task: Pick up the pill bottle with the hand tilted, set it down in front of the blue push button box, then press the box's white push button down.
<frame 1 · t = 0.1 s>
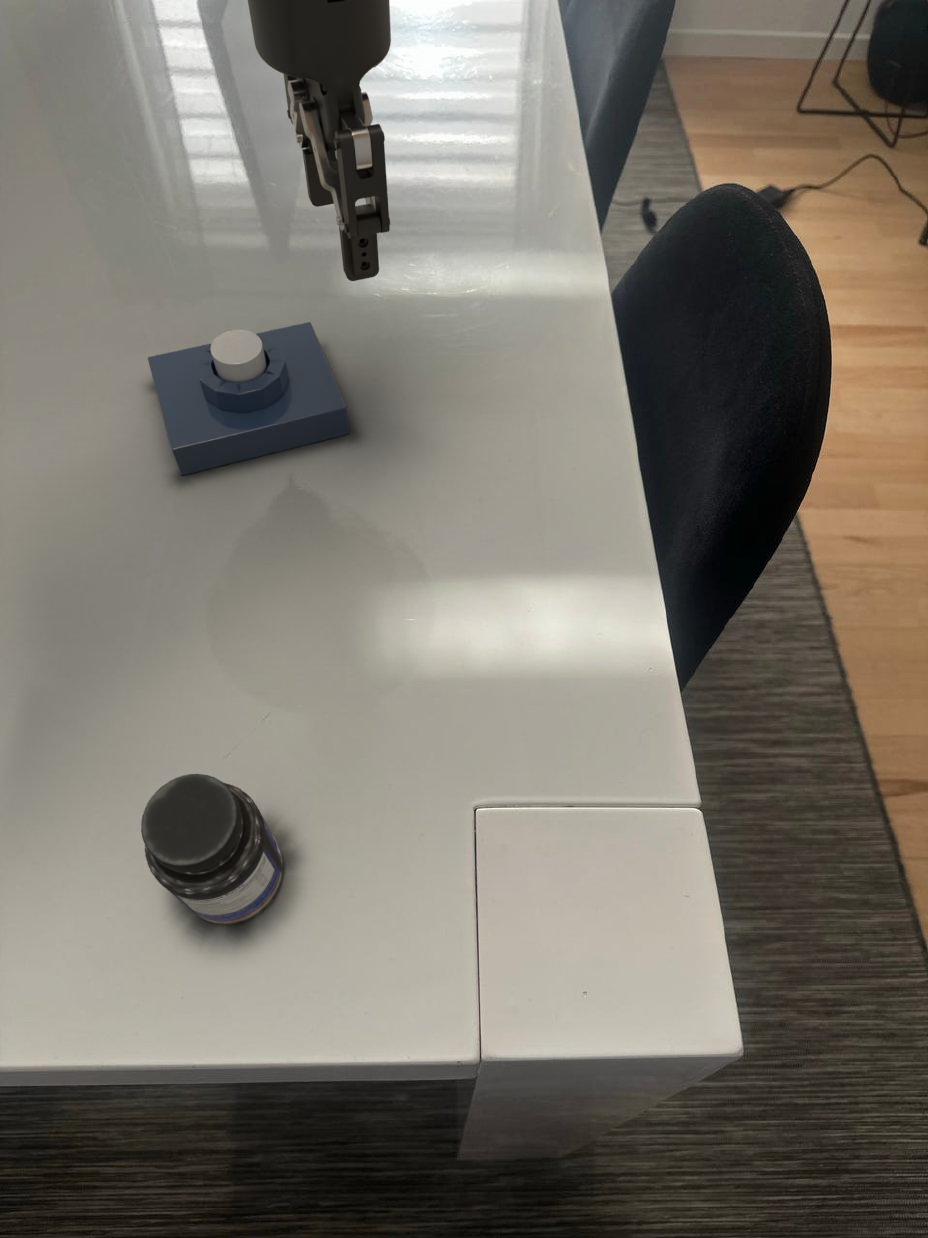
hand: (343, 237, 56), 17 cm above the table, tool pointing down, fingers open, 8 cm apart
blue push button box: (252, 408, 71), on the table
white push button: (238, 356, 66), point 6 cm above the table, slide at 0.1 cm
pill bottle: (235, 875, 51), on the table
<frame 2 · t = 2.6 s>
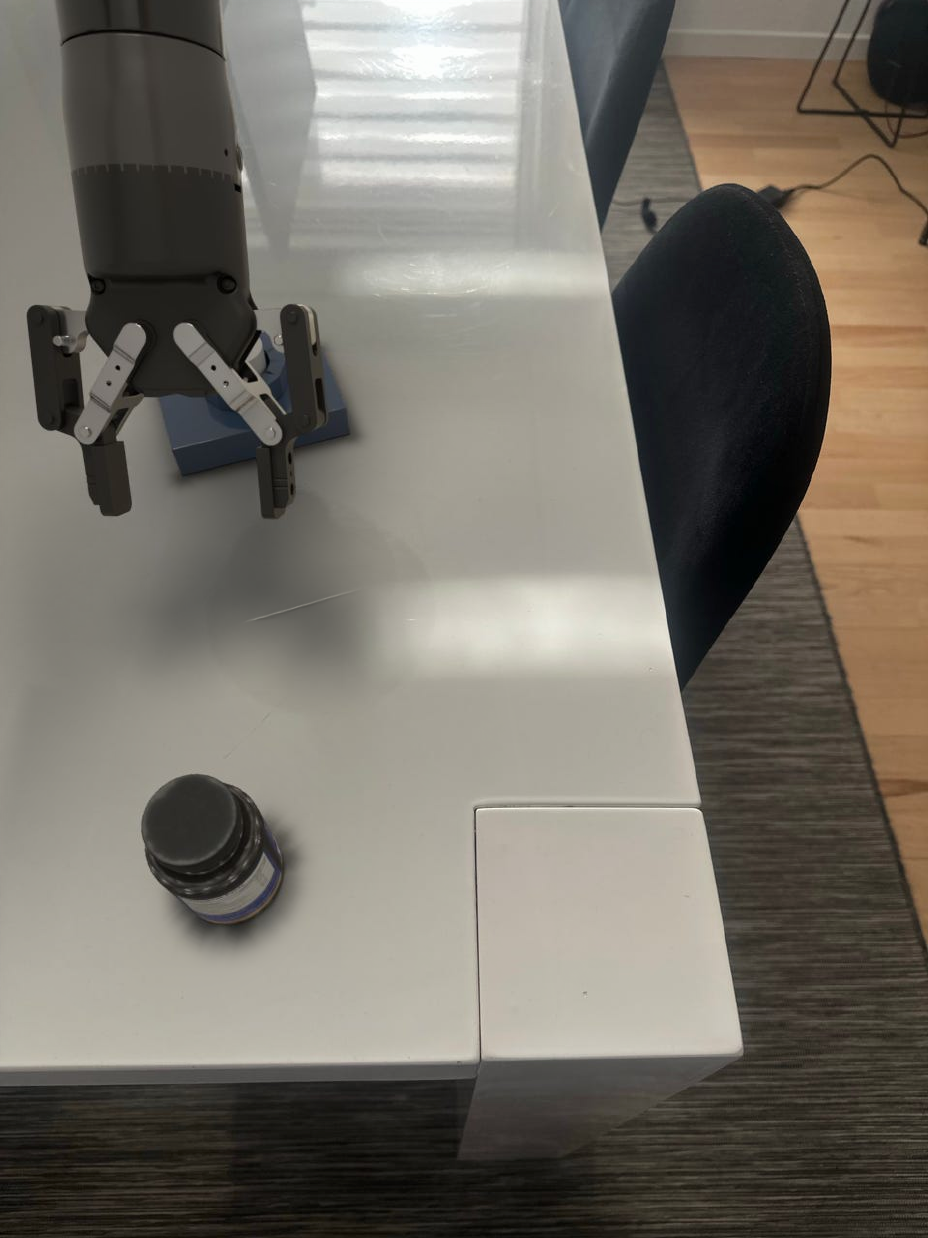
hand: (195, 515, 44), 16 cm above the table, tool tilted 40°, fingers open, 8 cm apart
nothing on the table moved.
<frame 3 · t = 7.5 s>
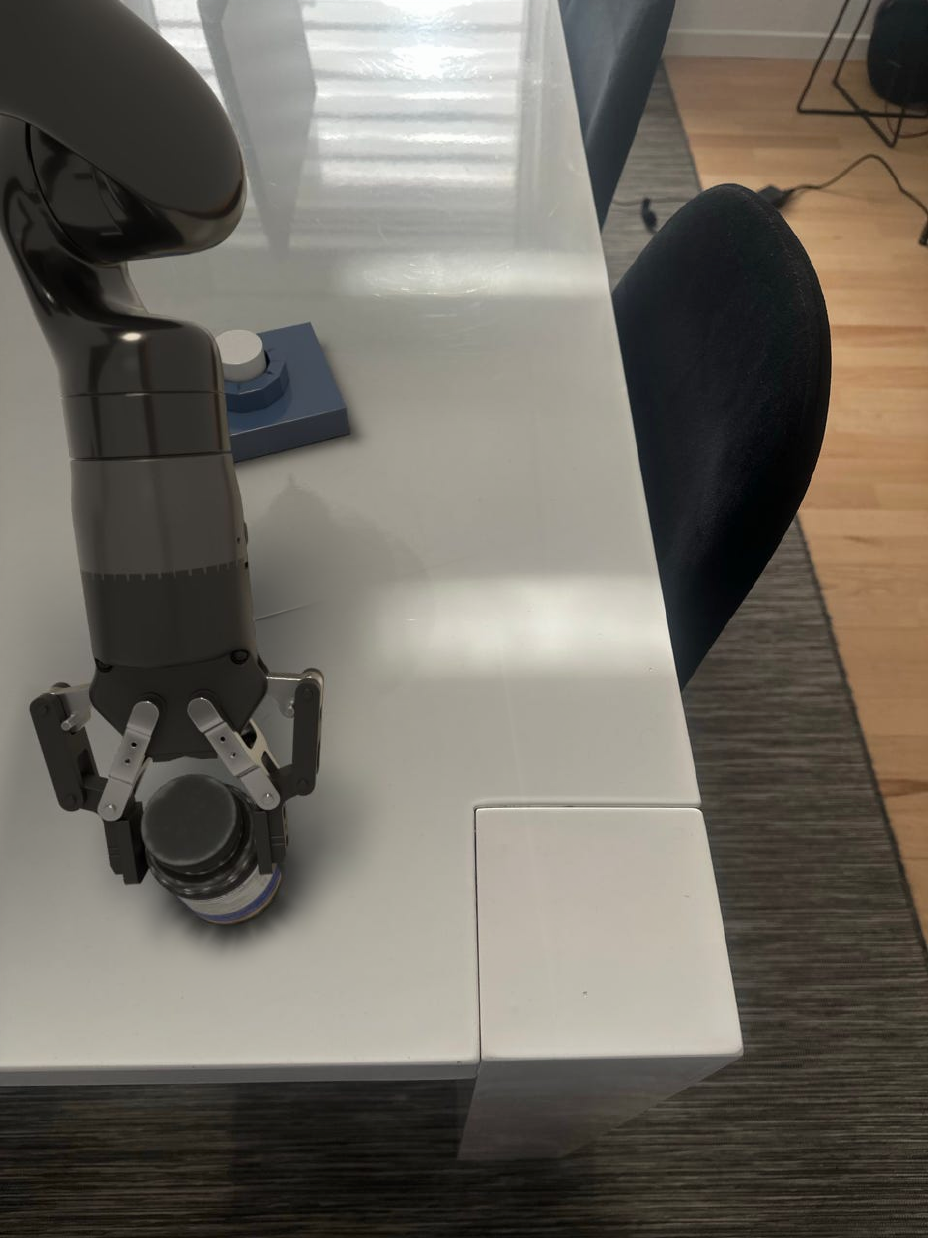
hand: (204, 871, 43), 7 cm above the table, tool tilted 45°, fingers closed on pill bottle, 6 cm apart
pill bottle: (235, 875, 51), on the table, touching gripper
everything else where it was.
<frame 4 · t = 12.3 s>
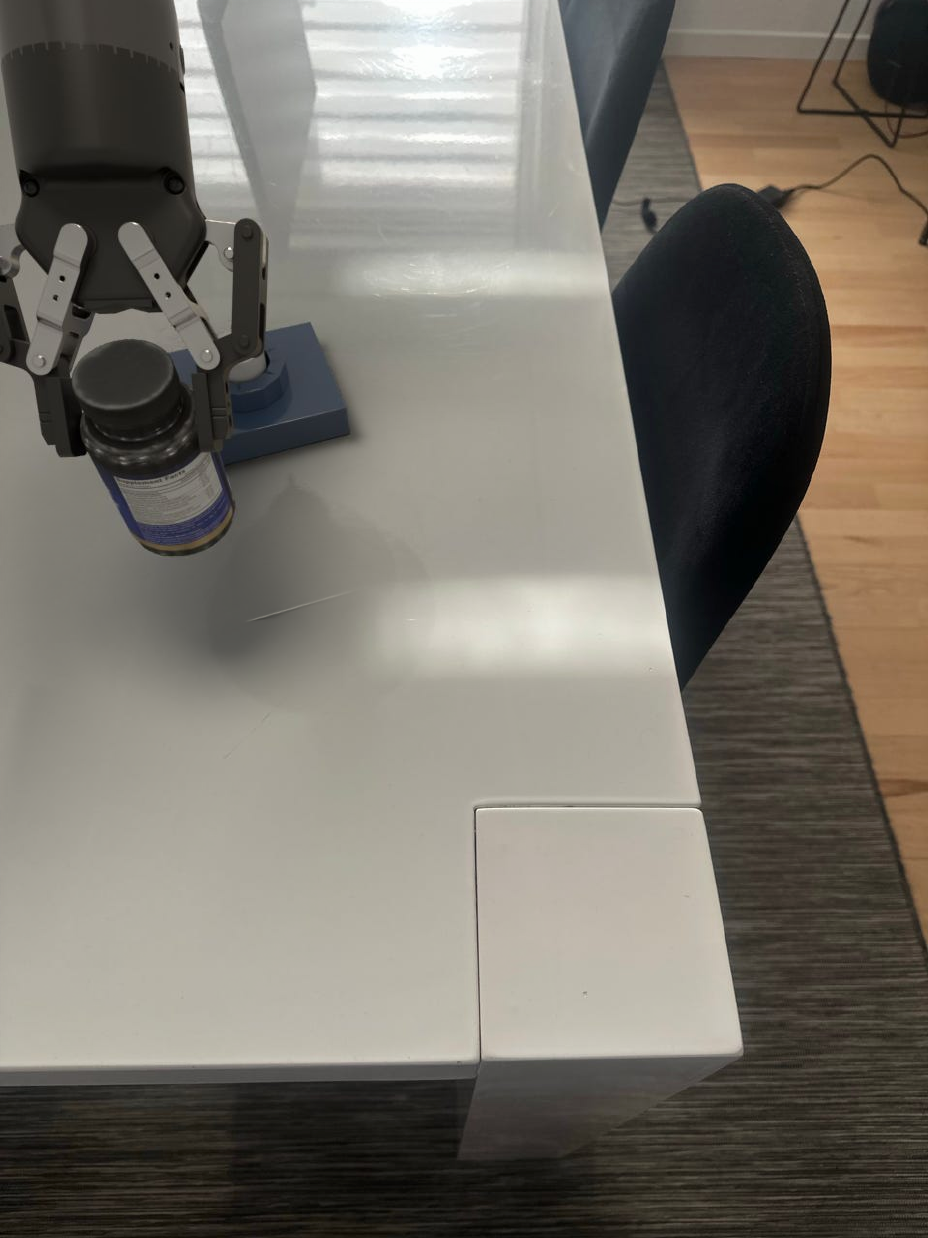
hand: (143, 452, 41), 20 cm above the table, tool tilted 45°, fingers closed on pill bottle, 6 cm apart
pill bottle: (185, 519, 48), point 13 cm above the table, touching gripper
everything else where it was.
when the fingers open (7 cm above the table, at t = 17.4 s): pill bottle stays where it is, on the table.
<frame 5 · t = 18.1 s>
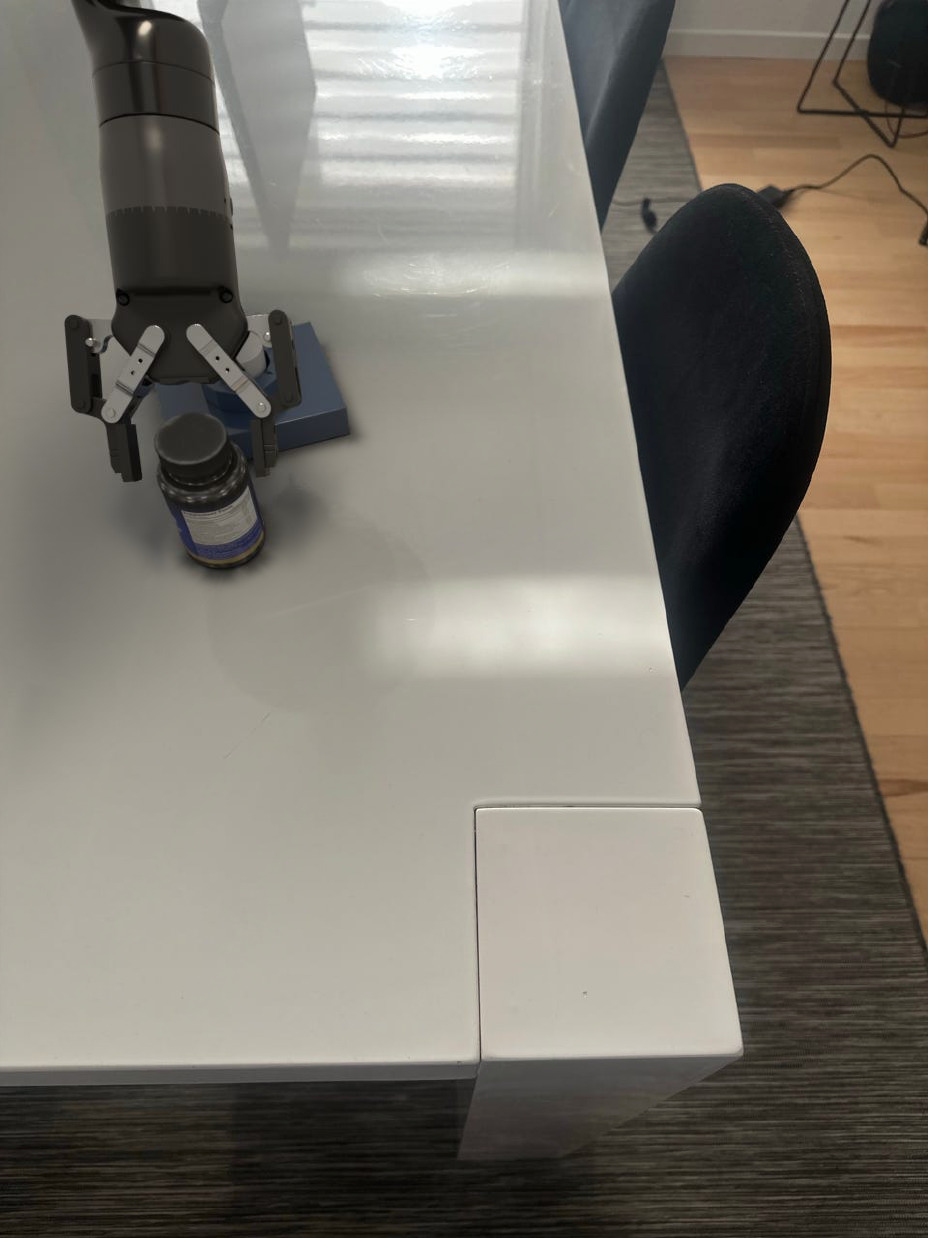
hand: (198, 479, 55), 8 cm above the table, tool tilted 45°, fingers open, 8 cm apart
pill bottle: (227, 540, 64), on the table
everything else where it was.
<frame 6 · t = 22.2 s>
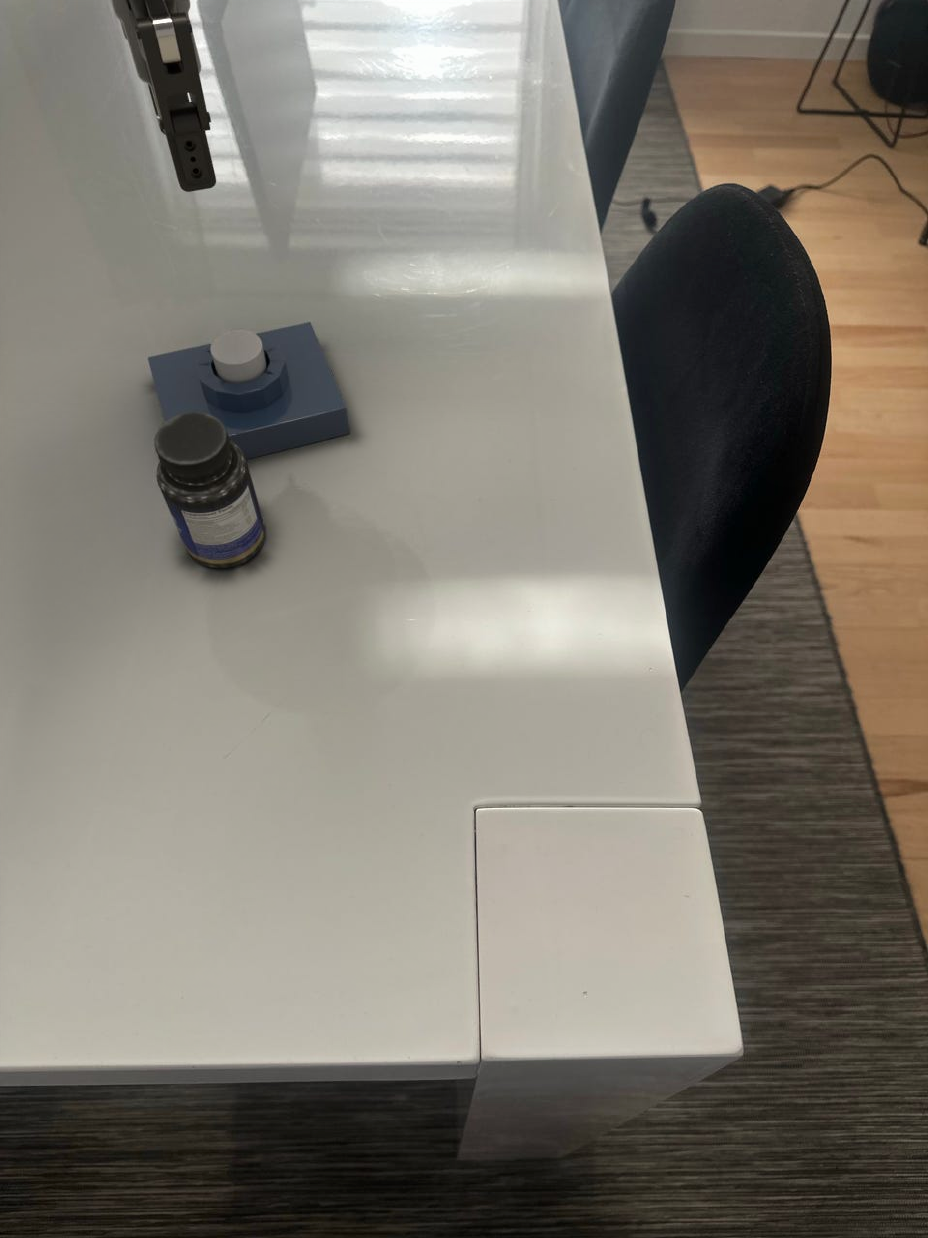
hand: (188, 157, 52), 21 cm above the table, tool pointing down, fingers open, 6 cm apart
nothing on the table moved.
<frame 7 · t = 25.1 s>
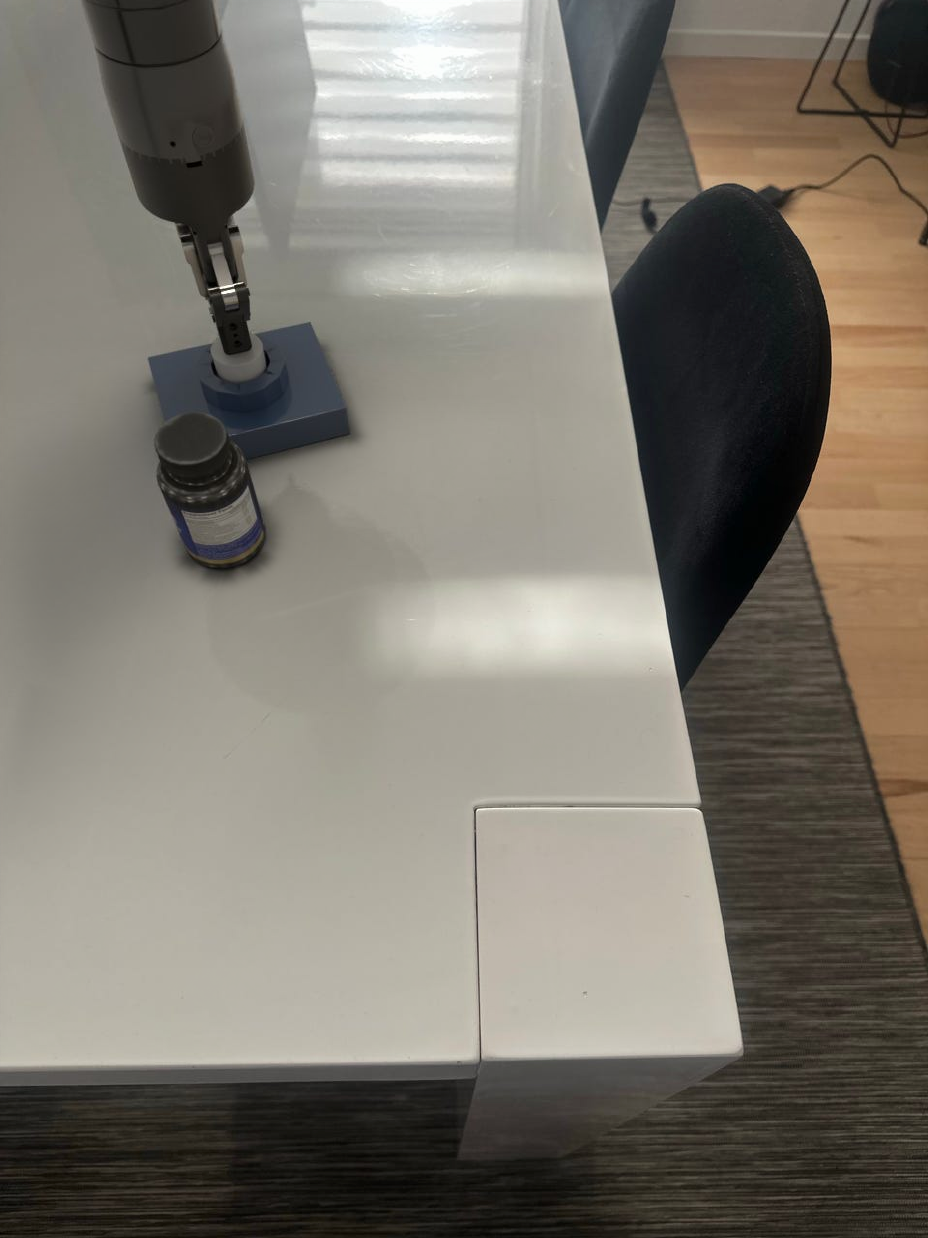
hand: (237, 347, 65), 6 cm above the table, tool pointing down, fingers closed
white push button: (239, 357, 66), point 5 cm above the table, slide at -0.1 cm, touching gripper
everything else where it was.
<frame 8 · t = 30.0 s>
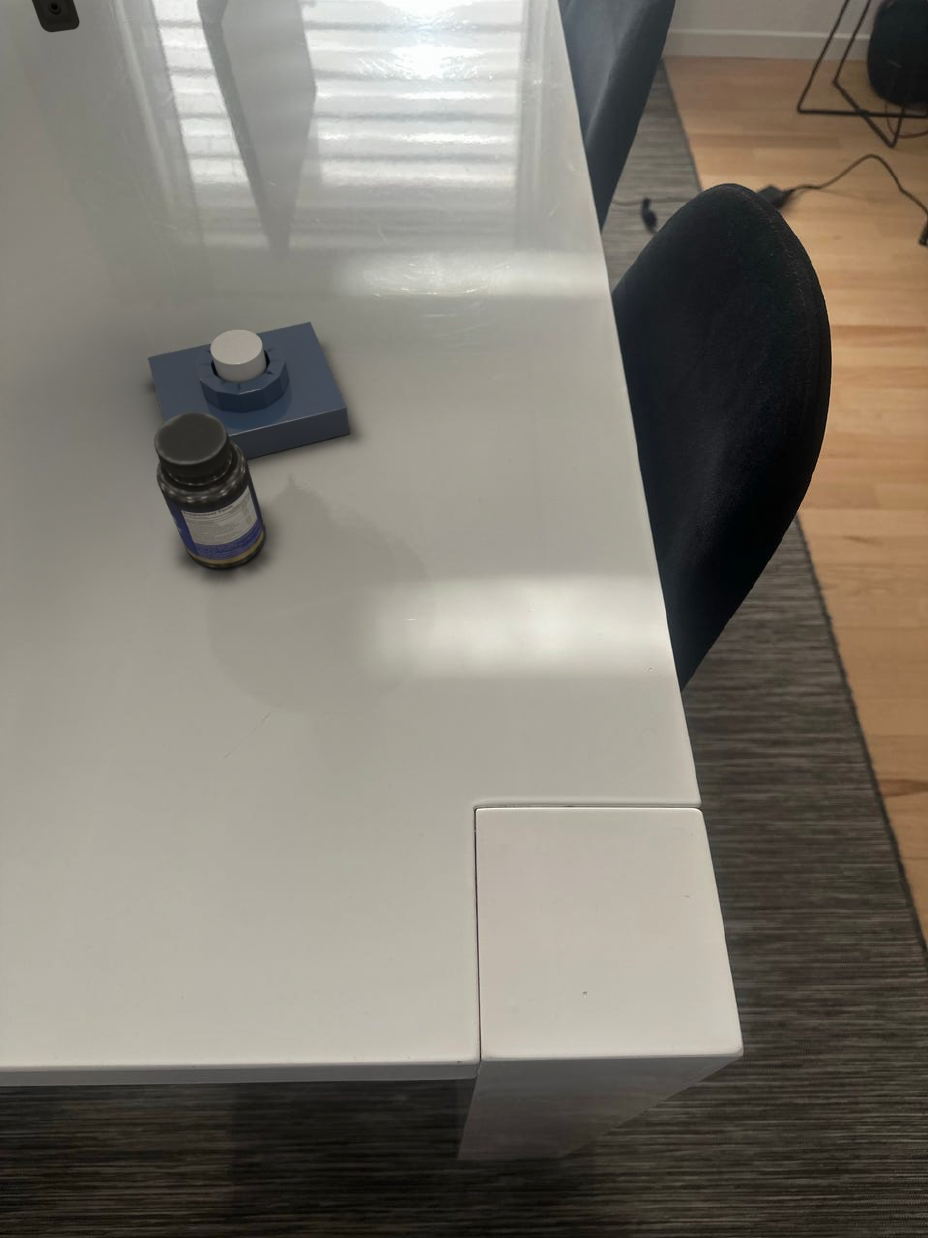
hand: (61, 24, 49), 27 cm above the table, tool pointing down, fingers closed
white push button: (238, 356, 66), point 6 cm above the table, slide at 0.1 cm
everything else where it was.
at the end: pill bottle 13.8 cm from the blue push button box (horizontally); pill bottle tilted 0°; white push button pushed in 1.3 cm at the most during the clip, back to where it started at the end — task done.
